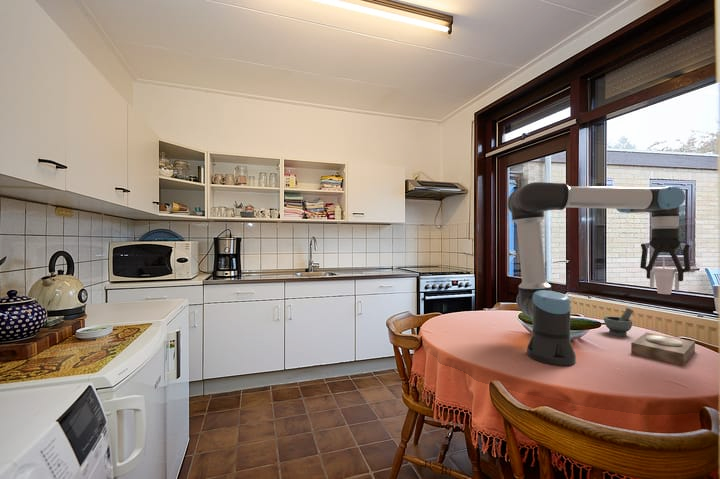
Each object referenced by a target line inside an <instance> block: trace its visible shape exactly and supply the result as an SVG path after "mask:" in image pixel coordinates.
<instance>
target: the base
mask: <svg viewBox="0 0 720 479" xmlns="http://www.w3.org/2000/svg"><path fill="white" fill-rule="evenodd" d="M695 345H696V341H694V340H689V339H684V338H678V337H674V336H673V337H672V336H667V335H663V334H657V333H652V332H645V333H644V334H642V335H640V336H639V337H637V338H636V339H635V340H633V341H632V342H631V348H630V350H631V352H630V353H631V354H634V355H637V356H638V355H639V356H642V357H646V358H650V359H654V360H659V361H664V362H668V363H670V364H671V363H672V364H676V365H681V366H685V365H686V363H687V362H688V361H689V360H690V358H692V356H693V355H694V353H695V352H696V346H695Z"/></svg>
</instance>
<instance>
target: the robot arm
mask: <svg viewBox="0 0 720 479" xmlns="http://www.w3.org/2000/svg"><path fill="white" fill-rule="evenodd" d="M685 198H686V194H685V191H683V189H682V188H680V187H678V186H675V185H671V186H661V187H632V186H631V187H626V186H625V187H623V186H622V187H621V186H618V187H617V186H578V185H577V186H573V185H571V186H569V185H568V184H567V183H562V182H561V183H559V182H546V181H545V182H542V181H538V182H537V181H536V182H528V183H527V184H525V185H522V186H520V187H518V188H517V187H516V188H515V190H513V191H512V192H511V193H510V195H509V196H508V198H507V208H508V210H509V212H510V213H511V220H512V222H514V223H515V224H516V230H517V242H518V251H519V252H518V253H519V260H520V261H519V262H520V263H519V264H520V274H521V275H520V276H521V282H520V283H519V285H518V294H517V296H516V305H517V308H518V309H519V311H520V312H521V313H522V314H523V315H525V316H526V317H528V318H530V319H531V320H532V333H531V336H530V339H529V342H528V345H527V347H526V355H527V356H528V357H529V358H531V359H533V360H535V361H537V362H540V363H544V364H546V365H547V364H549V365H553V366H561V367H563V366H564V367H565V366H566V367H567V366H573V365H575V364H576V363H577V360H576V359H577V355H576V353H575V349H574V347H573V344H572V341H571V310H572V305H571V299H570V297H569V296H568V295H567V294H564V293H562V292H557V291H553V290H552V284H549V283H548V282H547V276H546V267H545V254H544V246H543V236H542V234H543V233H542V224H541V222H542V221H543V219H545V212H548V211H563V210H565V209H566V208H573V209H574V208H577V209H578V208H579V209H581V208H583V209H613V210H617V212H619V213H622V214H623V213H625V214H636V213H637V214H638V213H640V214H641V213H649V214H651V236H650V237H651V240H650V241H649V242H648V243H641V244H640V247H641V257H640V268H641V269H643V270H645V271H646V279H648V280H649V289H650V288H651V289H653V288H655V274H654V270H653V268H654V265H655V264H656V261H657V259H658V257H659V255H660V253H669V255H670V256H671V259H672V261H673V263H674V266H675V267H676V268H675V269H676V271H675V274H674V290H675V291H679V290H680V282H683V281H684V273H687V272H690V271H691V270H692V268H691V258H690V257H691V256H690V249H691V246H692V245H691V244H689V243H682V242H681V240H680V229H679V227H680V207H681V206H682V205H683V204H684V202H685ZM650 247H651V248H653V252H652V256H651V258H650V260H649V261H648V265H647V260H648V252H649V248H650ZM679 247H680V248H681V249H682V256H683V263H684V264H683V266H684V268H683V266H682V264H681V261H680V259H679V257H678V253H677V252H676V250H677V249H678V248H679Z"/></svg>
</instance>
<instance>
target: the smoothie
mask: <svg viewBox="0 0 720 479" xmlns="http://www.w3.org/2000/svg"><path fill="white" fill-rule="evenodd" d="M652 271H654V281H655V287H656V292H657V294H661V295H671V294H672V290H673V284H674V281H675V272H677V268H675V267H666V257H665V256H662V267H661V266H657V267H654V266H653V268H652Z"/></svg>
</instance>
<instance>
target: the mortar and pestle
mask: <svg viewBox="0 0 720 479" xmlns="http://www.w3.org/2000/svg"><path fill="white" fill-rule="evenodd" d="M633 313H634V310H633V309H632V308H629V307H626V308H625V311H624V312H623V314H622V315H621V316H620V317H619V316H604V317H603V321H604V322H603V323H604V324H605V327H606V328H607V329H608V330H609V331H608V333H609V334H610V335H612V336H617V337H627V336H628V333H627V332H629V331H630V330H631V329H632V326H633V320H631V319H630V317H631V316H632V314H633Z"/></svg>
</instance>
